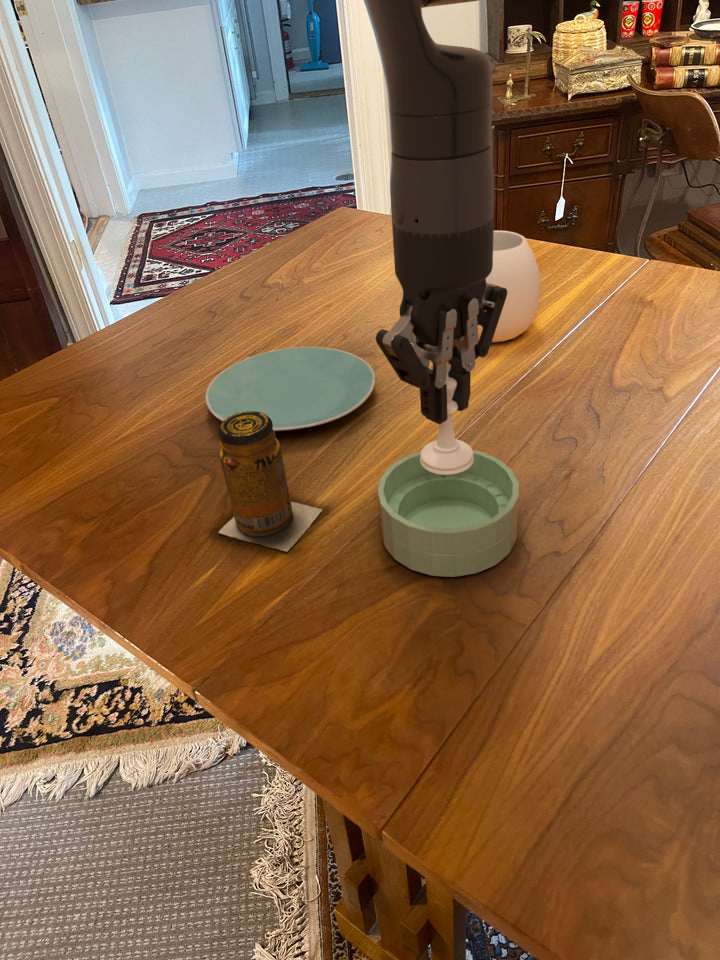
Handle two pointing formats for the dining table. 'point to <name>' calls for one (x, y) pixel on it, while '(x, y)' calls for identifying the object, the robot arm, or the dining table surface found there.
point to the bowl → (449, 515)
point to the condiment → (259, 484)
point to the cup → (514, 284)
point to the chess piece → (447, 442)
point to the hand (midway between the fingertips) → (446, 412)
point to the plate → (293, 386)
